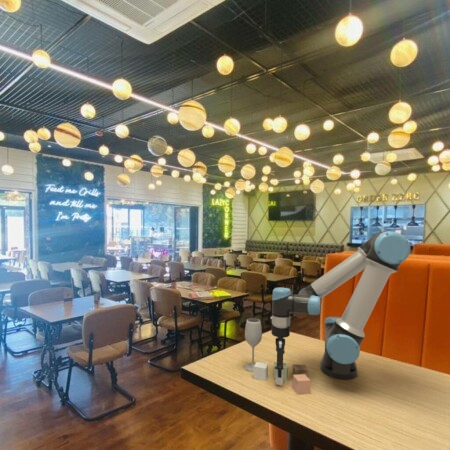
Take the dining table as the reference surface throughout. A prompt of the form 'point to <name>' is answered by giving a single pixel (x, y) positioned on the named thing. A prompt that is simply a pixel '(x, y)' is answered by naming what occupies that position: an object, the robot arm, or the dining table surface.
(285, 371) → the sage cube
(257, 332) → the wineglass
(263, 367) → the white cube
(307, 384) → the terracotta cube
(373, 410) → the dining table surface
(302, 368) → the walnut cube
